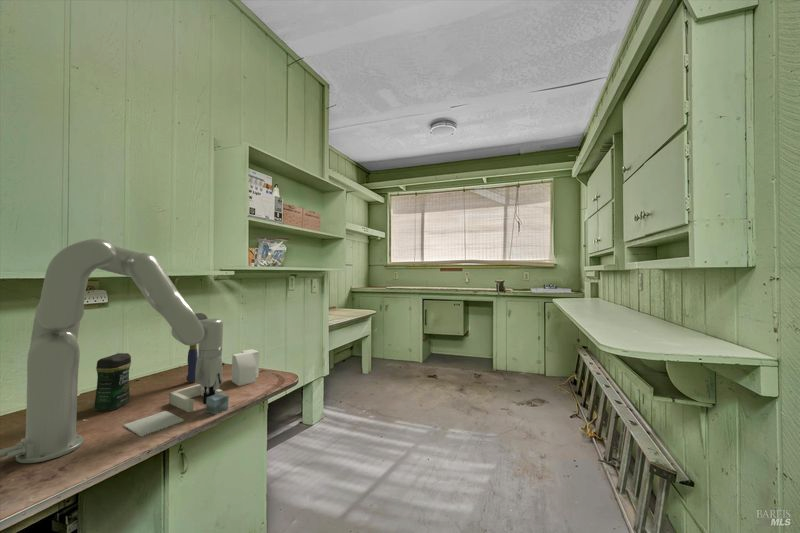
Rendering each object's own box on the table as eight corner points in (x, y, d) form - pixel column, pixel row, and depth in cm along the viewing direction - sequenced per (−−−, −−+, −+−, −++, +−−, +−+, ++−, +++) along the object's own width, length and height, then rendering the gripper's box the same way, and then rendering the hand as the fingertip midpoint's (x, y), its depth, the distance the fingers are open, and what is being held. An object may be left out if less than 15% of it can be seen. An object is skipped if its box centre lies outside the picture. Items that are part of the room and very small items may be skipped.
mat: (141, 436, 96) (141, 435, 96) (123, 426, 102) (123, 424, 102) (184, 420, 107) (184, 419, 107) (165, 411, 113) (165, 410, 113)
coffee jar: (113, 412, 111) (115, 358, 111) (89, 412, 110) (90, 358, 111) (134, 400, 121) (136, 351, 121) (112, 400, 120) (113, 351, 120)
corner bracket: (251, 373, 154) (252, 349, 154) (263, 380, 146) (264, 353, 146) (228, 379, 146) (229, 353, 146) (239, 386, 138) (239, 358, 138)
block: (214, 414, 112) (215, 400, 112) (206, 411, 114) (206, 397, 114) (228, 409, 116) (228, 395, 116) (219, 406, 118) (220, 392, 118)
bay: (188, 412, 113) (189, 401, 113) (169, 403, 119) (169, 392, 119) (222, 400, 123) (222, 390, 123) (202, 392, 130) (202, 383, 130)
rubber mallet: (193, 387, 135) (196, 316, 135) (174, 387, 134) (177, 316, 134) (207, 377, 148) (209, 312, 148) (190, 377, 147) (192, 311, 147)
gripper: (188, 351, 118) (186, 401, 118) (211, 358, 110) (210, 412, 110) (209, 347, 124) (207, 394, 124) (232, 354, 117) (230, 404, 117)
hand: (208, 402), depth 117 cm, fingers closed
